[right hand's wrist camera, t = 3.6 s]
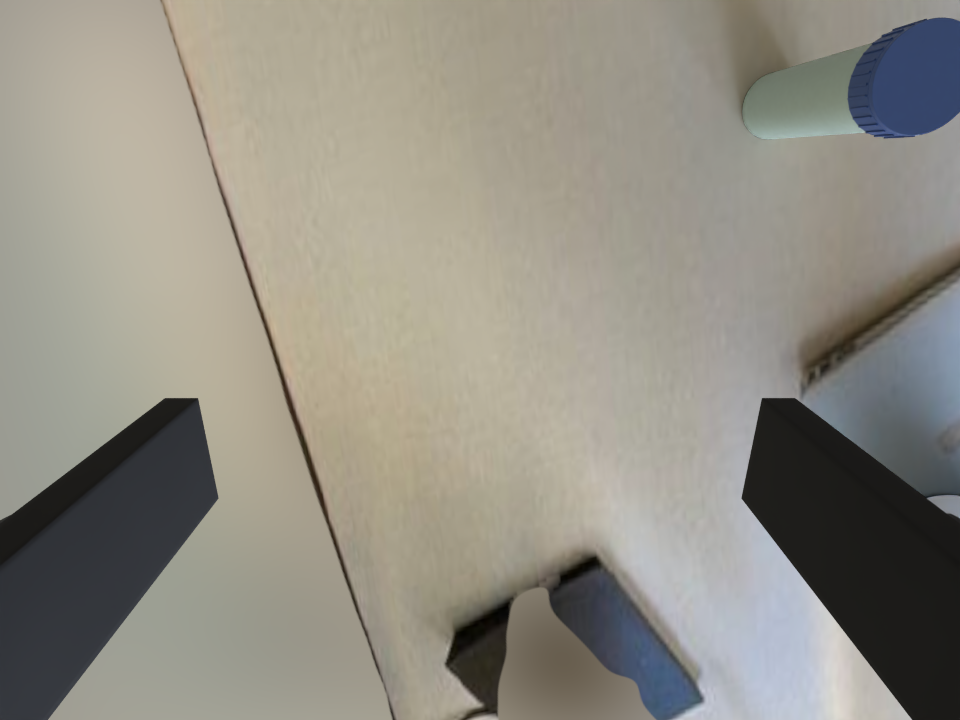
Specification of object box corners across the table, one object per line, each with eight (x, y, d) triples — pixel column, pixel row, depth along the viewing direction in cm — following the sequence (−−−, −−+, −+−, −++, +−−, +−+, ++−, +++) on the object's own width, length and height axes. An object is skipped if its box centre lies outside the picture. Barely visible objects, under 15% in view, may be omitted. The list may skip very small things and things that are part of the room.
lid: (937, 134, 34) (968, 132, 32) (838, 141, 34) (861, 140, 32) (961, 21, 32) (996, 11, 30) (855, 30, 32) (882, 20, 30)
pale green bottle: (799, 137, 48) (956, 126, 32) (739, 141, 48) (865, 133, 32) (808, 69, 46) (979, 22, 30) (745, 74, 46) (882, 30, 30)
